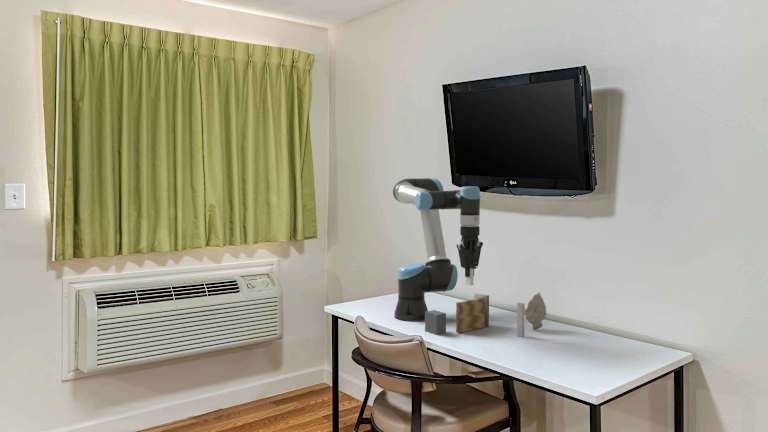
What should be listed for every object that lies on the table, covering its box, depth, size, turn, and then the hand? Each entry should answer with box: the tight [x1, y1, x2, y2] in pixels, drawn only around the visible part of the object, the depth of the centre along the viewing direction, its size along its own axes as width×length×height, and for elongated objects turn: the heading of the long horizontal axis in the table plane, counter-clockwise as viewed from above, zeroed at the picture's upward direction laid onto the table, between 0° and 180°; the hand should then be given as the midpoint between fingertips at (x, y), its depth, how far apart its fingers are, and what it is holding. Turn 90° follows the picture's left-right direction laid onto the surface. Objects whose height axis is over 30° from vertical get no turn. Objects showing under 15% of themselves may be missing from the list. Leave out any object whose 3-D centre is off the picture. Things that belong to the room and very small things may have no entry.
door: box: [455, 298, 486, 334], centre depth 240 cm, size 15×2×12 cm, turn 126°
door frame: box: [474, 292, 526, 338], centre depth 240 cm, size 26×2×13 cm, turn 37°
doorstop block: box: [424, 309, 447, 336], centre depth 238 cm, size 7×5×8 cm
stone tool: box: [524, 292, 547, 331], centre depth 239 cm, size 11×4×15 cm, turn 119°
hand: (469, 284), depth 235 cm, fingers closed
